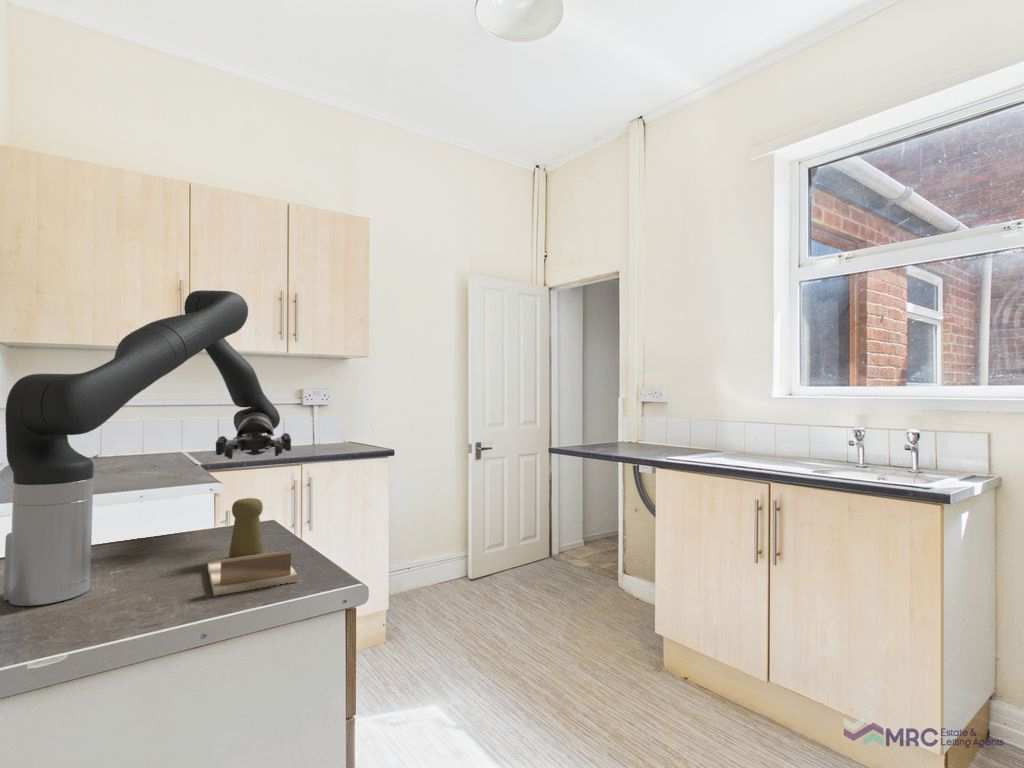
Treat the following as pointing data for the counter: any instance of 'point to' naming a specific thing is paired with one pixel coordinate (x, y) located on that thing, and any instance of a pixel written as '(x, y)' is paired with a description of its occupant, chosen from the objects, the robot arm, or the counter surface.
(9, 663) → the counter surface
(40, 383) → the robot arm
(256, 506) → the cork
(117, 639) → the counter surface
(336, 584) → the counter surface
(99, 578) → the counter surface
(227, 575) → the wooden stand base
